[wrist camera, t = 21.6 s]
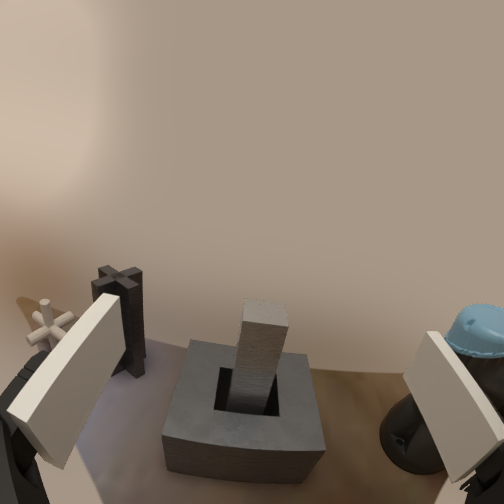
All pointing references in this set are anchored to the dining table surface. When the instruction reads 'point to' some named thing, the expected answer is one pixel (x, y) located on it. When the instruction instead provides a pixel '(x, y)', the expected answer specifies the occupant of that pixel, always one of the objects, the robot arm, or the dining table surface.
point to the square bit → (256, 355)
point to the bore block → (242, 422)
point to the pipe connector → (49, 325)
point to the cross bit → (126, 313)
